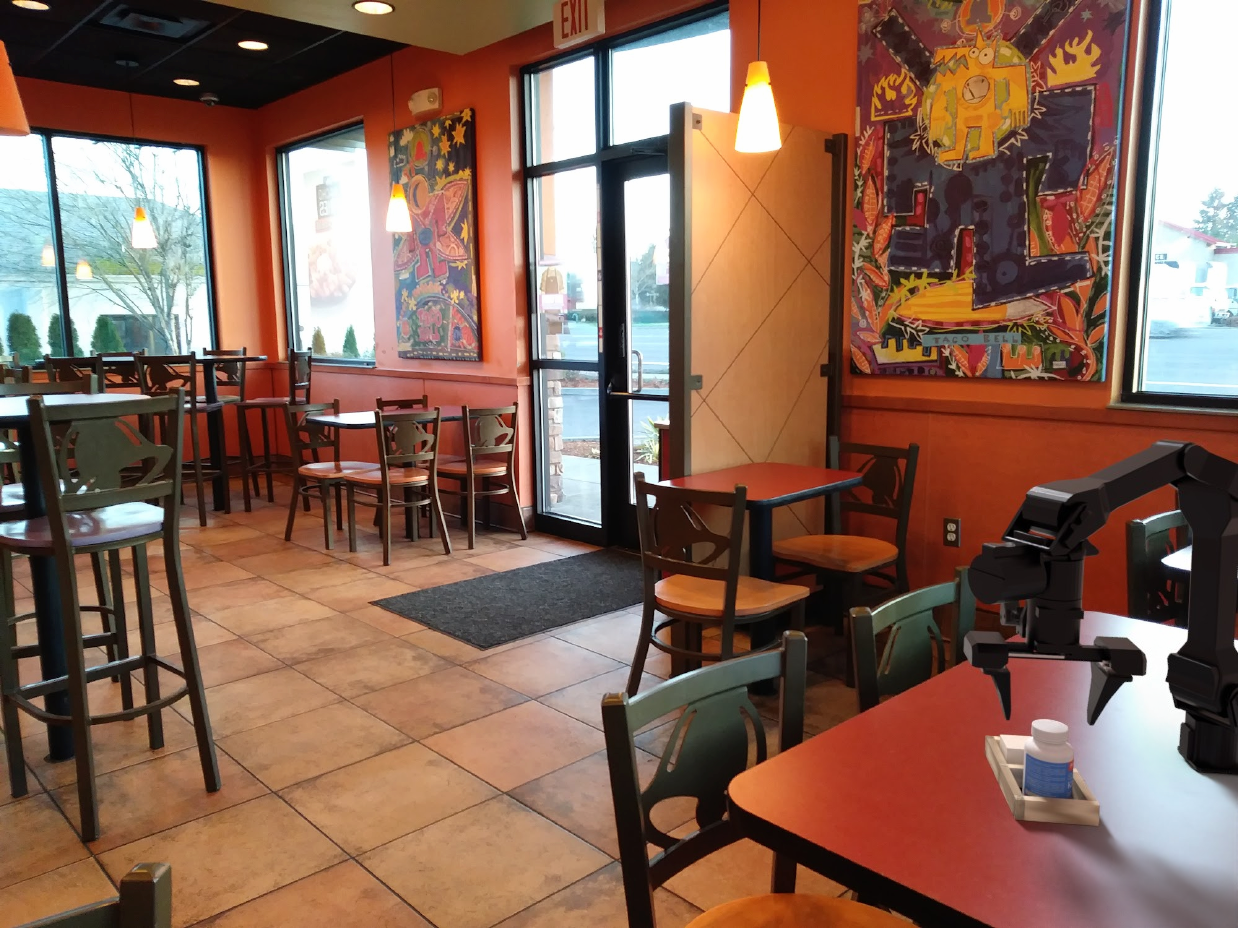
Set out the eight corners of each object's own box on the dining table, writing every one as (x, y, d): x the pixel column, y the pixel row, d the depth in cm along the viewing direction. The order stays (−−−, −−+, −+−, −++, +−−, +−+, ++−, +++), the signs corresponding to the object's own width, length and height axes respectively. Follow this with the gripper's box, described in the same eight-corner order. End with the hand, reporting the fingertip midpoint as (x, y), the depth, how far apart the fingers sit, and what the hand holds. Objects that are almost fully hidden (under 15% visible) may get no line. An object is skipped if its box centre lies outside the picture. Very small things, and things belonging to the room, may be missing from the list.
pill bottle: (1077, 816, 105) (1081, 737, 103) (1028, 812, 106) (1031, 734, 104) (1064, 793, 110) (1068, 717, 109) (1017, 789, 111) (1020, 714, 110)
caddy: (1056, 757, 119) (1057, 739, 119) (1098, 825, 102) (1099, 805, 102) (984, 753, 121) (985, 735, 120) (1015, 819, 104) (1015, 799, 104)
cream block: (1031, 765, 117) (1032, 736, 117) (1039, 779, 113) (1040, 750, 113) (998, 763, 118) (1000, 734, 118) (1005, 777, 114) (1007, 748, 114)
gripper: (1117, 578, 110) (1110, 699, 112) (957, 573, 114) (953, 691, 116) (1152, 605, 99) (1143, 738, 101) (975, 598, 103) (970, 727, 105)
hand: (1048, 721), depth 106 cm, fingers open, 9 cm apart
